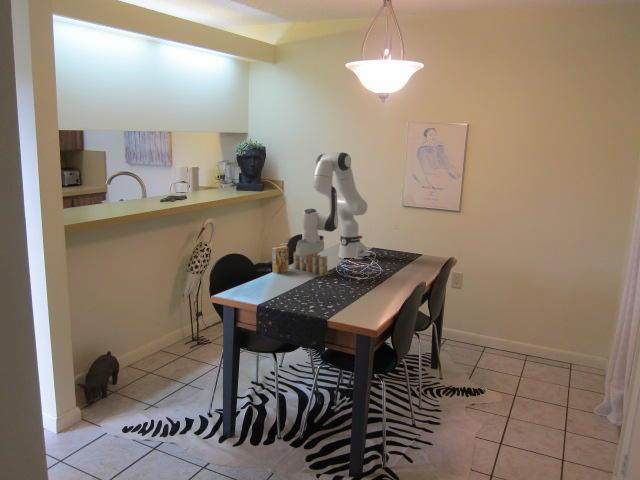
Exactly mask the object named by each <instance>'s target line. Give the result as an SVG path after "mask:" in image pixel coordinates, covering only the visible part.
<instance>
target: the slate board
mask: <svg viewBox="0 0 640 480" xmlns="http://www.w3.org/2000/svg"><path fill="white" fill-rule="evenodd" d="M289 271H292V272H296V273H300V274H304V275H309V276H313V277H317V278H320V277H324V276H328V275H330V274H333V272H330V271H327V274H325V275H319V273H316V274H313V271H311V272H306V270H303V271H301V270H300V268H299V269H294V267H293V268H289Z"/></svg>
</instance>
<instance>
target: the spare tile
mask: <svg viewBox="0 0 640 480" xmlns="http://www.w3.org/2000/svg"><path fill="white" fill-rule="evenodd" d="M313 256H314V254H310V255H307V257H306V259H307V260H308V263H306V272H311V271H313Z"/></svg>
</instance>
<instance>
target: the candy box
mask: <svg viewBox="0 0 640 480" xmlns="http://www.w3.org/2000/svg"><path fill="white" fill-rule="evenodd" d="M271 251H272V252H271V253H272V254H271V255H272V256H271V259H272V261H271V262H272V263H271V264H272V265H271V266H272V273H273V274H280V273H286V272H289V271H290V270H289V269H290V268H289V267H290V265H289V264H290V263H289V255H290V254H289V247H288V246H286V245H282V246H277V247H272V248H271Z"/></svg>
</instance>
